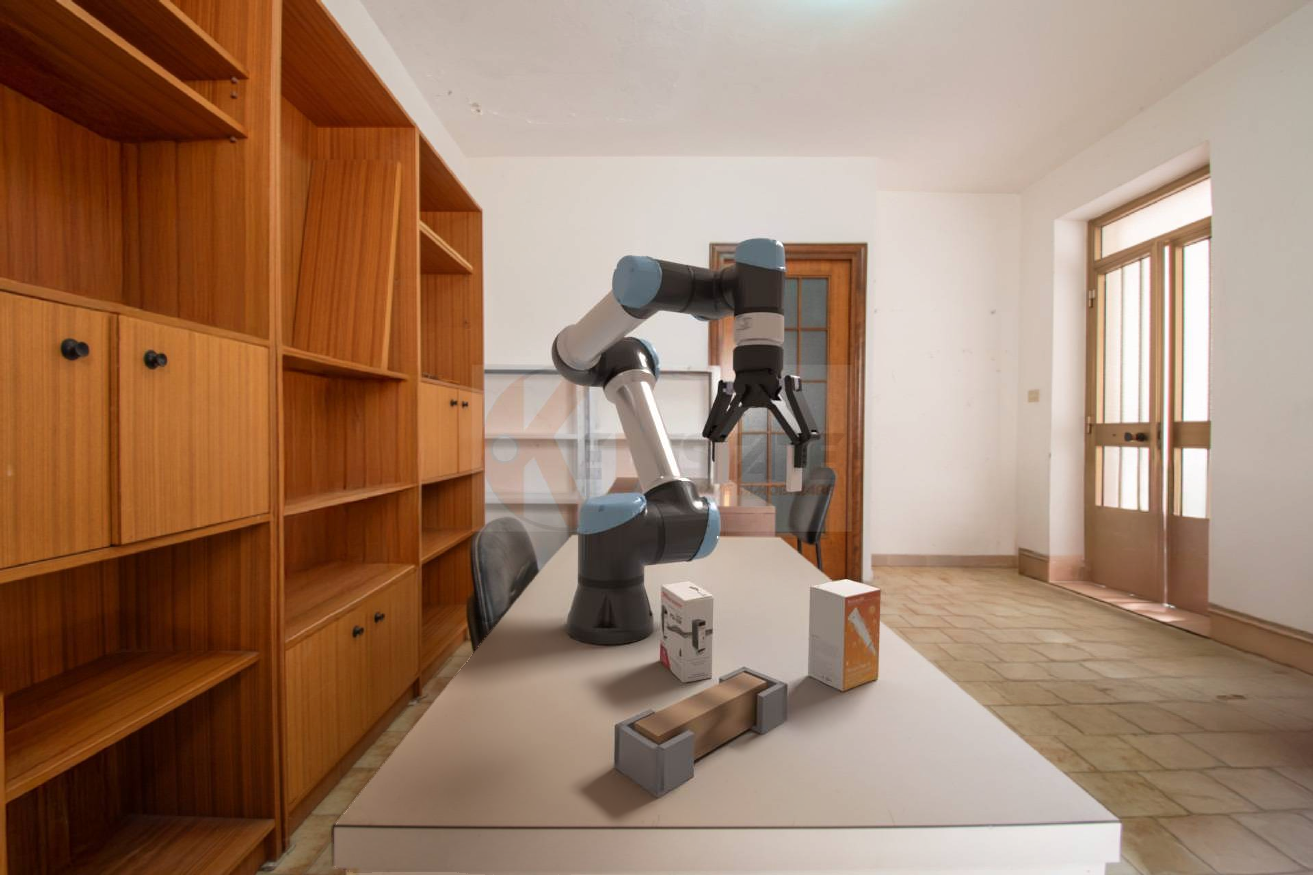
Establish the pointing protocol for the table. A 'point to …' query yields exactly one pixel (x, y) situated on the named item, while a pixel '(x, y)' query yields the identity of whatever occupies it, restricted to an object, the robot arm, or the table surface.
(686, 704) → the slat
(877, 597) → the small box
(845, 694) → the table surface
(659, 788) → the endcap
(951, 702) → the table surface
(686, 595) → the ink box
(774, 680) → the endcap
